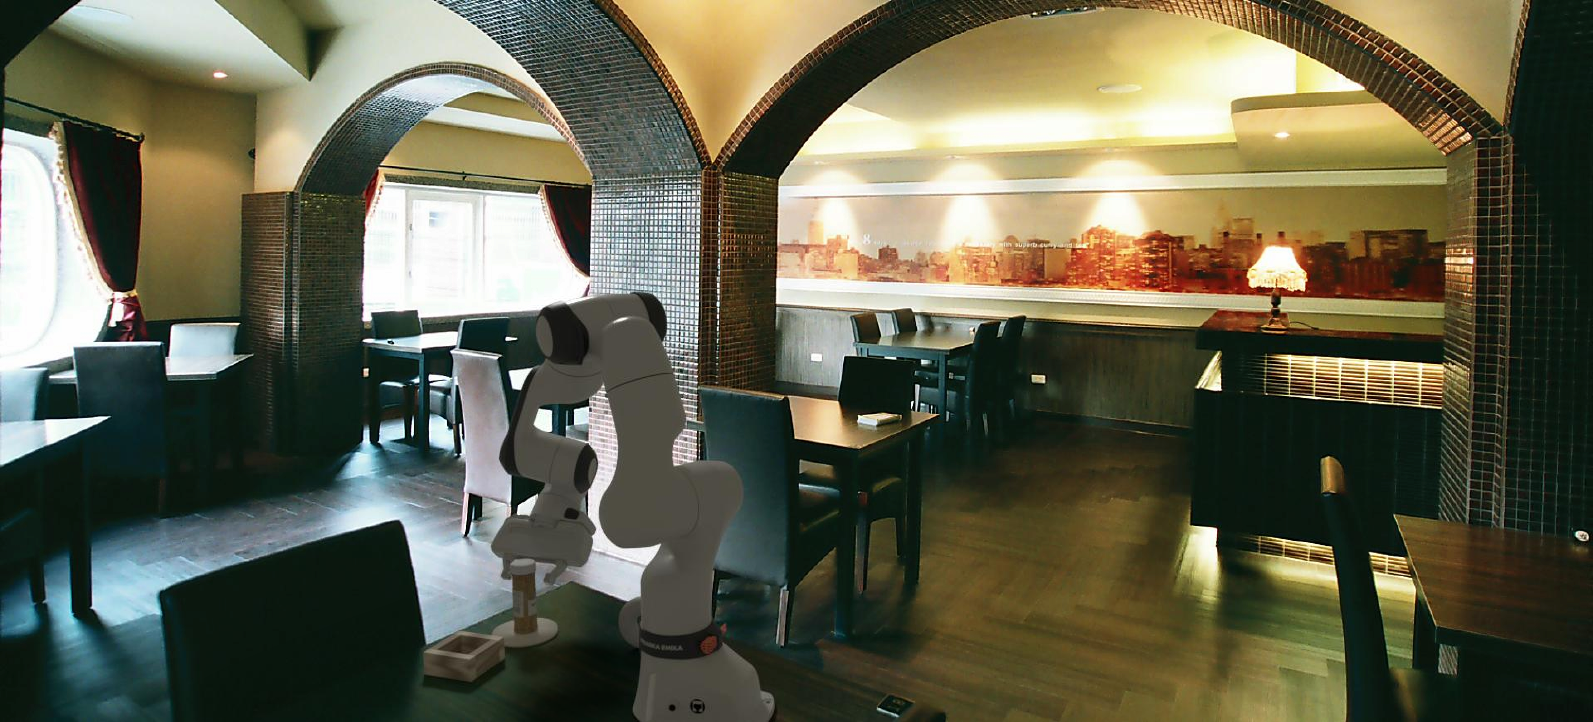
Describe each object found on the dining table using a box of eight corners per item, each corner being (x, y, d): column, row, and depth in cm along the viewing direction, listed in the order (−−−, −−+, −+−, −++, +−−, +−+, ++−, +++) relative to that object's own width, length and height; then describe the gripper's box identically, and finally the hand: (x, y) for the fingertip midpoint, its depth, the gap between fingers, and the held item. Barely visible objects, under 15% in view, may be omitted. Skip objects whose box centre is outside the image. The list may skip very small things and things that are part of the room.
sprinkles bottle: (541, 631, 173) (538, 562, 172) (516, 636, 171) (514, 567, 169) (534, 623, 177) (531, 556, 175) (510, 628, 175) (507, 560, 173)
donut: (616, 651, 166) (614, 598, 165) (622, 643, 170) (621, 591, 169) (669, 654, 165) (668, 601, 164) (674, 646, 168) (673, 594, 167)
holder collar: (504, 658, 163) (503, 637, 163) (470, 682, 154) (469, 659, 154) (460, 651, 166) (459, 630, 166) (424, 674, 157) (423, 652, 157)
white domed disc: (569, 625, 178) (569, 621, 178) (534, 651, 166) (534, 646, 166) (516, 618, 181) (516, 614, 181) (478, 642, 170) (478, 638, 170)
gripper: (501, 505, 183) (472, 568, 175) (591, 513, 177) (565, 579, 169) (515, 520, 188) (488, 582, 180) (603, 529, 182) (579, 594, 173)
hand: (526, 581), depth 174 cm, fingers open, 8 cm apart
